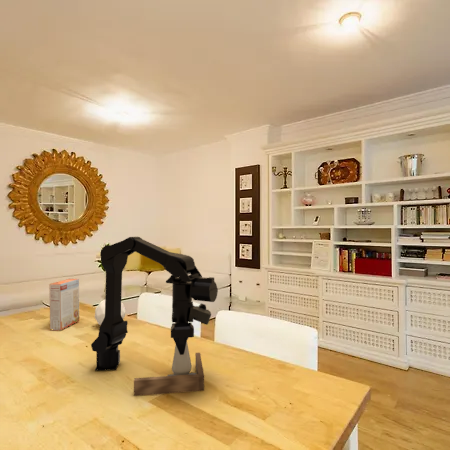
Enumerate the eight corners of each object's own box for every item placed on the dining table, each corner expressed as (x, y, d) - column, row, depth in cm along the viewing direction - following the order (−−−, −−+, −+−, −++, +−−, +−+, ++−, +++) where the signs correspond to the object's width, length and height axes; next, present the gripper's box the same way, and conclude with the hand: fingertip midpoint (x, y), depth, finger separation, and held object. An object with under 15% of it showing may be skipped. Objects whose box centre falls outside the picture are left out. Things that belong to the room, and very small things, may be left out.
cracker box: (68, 321, 155) (68, 278, 155) (79, 321, 154) (80, 278, 154) (48, 330, 141) (48, 283, 141) (61, 331, 140) (61, 283, 140)
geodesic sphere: (83, 313, 147) (94, 292, 142) (109, 307, 158) (120, 287, 154) (98, 337, 140) (110, 315, 136) (124, 329, 152) (135, 309, 147)
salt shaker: (194, 372, 96) (194, 329, 96) (188, 381, 90) (187, 335, 91) (175, 370, 97) (175, 327, 97) (168, 379, 92) (168, 334, 92)
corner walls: (133, 395, 86) (133, 380, 86) (141, 368, 103) (141, 355, 103) (204, 390, 89) (204, 376, 89) (200, 364, 106) (200, 352, 106)
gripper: (212, 305, 86) (212, 363, 86) (206, 291, 105) (206, 339, 104) (170, 307, 84) (170, 366, 84) (172, 292, 103) (171, 341, 103)
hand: (181, 352), depth 94 cm, fingers closed on salt shaker, 3 cm apart
